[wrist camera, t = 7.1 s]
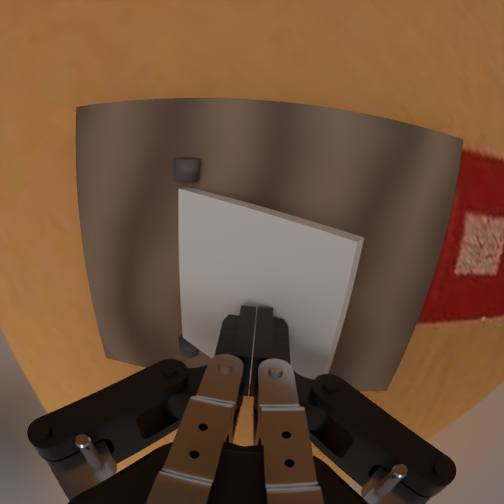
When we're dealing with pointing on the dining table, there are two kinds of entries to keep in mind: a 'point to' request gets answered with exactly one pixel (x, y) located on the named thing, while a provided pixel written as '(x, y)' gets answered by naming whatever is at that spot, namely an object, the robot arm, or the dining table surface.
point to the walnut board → (265, 195)
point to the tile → (264, 274)
